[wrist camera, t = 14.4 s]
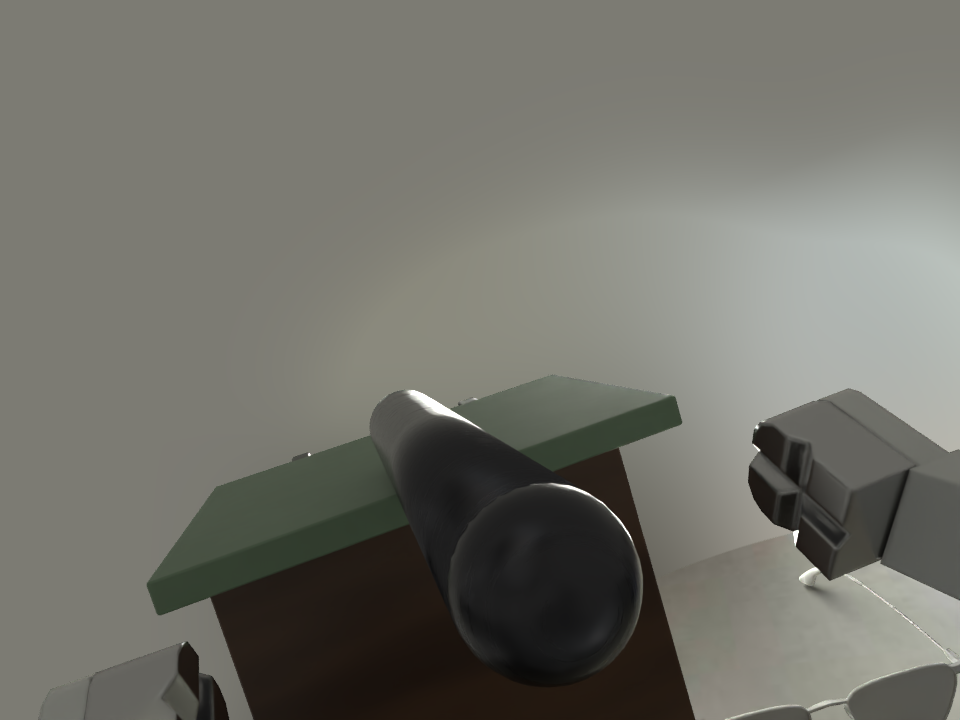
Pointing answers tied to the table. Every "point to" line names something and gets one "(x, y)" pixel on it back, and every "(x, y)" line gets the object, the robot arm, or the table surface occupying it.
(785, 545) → the table surface
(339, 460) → the door
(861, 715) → the eyeglasses
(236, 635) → the cabinet
